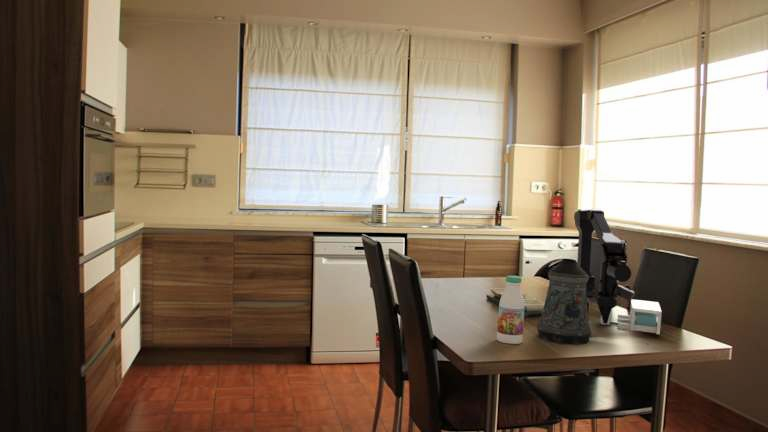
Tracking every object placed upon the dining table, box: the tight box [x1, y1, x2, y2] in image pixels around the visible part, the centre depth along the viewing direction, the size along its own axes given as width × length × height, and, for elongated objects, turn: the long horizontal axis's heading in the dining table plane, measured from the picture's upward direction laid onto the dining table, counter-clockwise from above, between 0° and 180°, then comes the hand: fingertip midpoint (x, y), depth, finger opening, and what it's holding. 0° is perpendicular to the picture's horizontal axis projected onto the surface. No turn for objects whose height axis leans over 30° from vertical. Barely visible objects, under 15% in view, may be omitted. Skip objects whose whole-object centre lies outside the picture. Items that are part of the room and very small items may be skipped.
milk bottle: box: [496, 275, 526, 345], centre depth 192 cm, size 8×8×20 cm
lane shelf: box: [617, 298, 663, 335], centre depth 218 cm, size 21×18×9 cm
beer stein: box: [536, 258, 592, 346], centre depth 201 cm, size 16×19×25 cm
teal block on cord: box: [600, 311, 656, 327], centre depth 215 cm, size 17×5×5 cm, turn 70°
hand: (605, 321), depth 217 cm, fingers open, 4 cm apart
